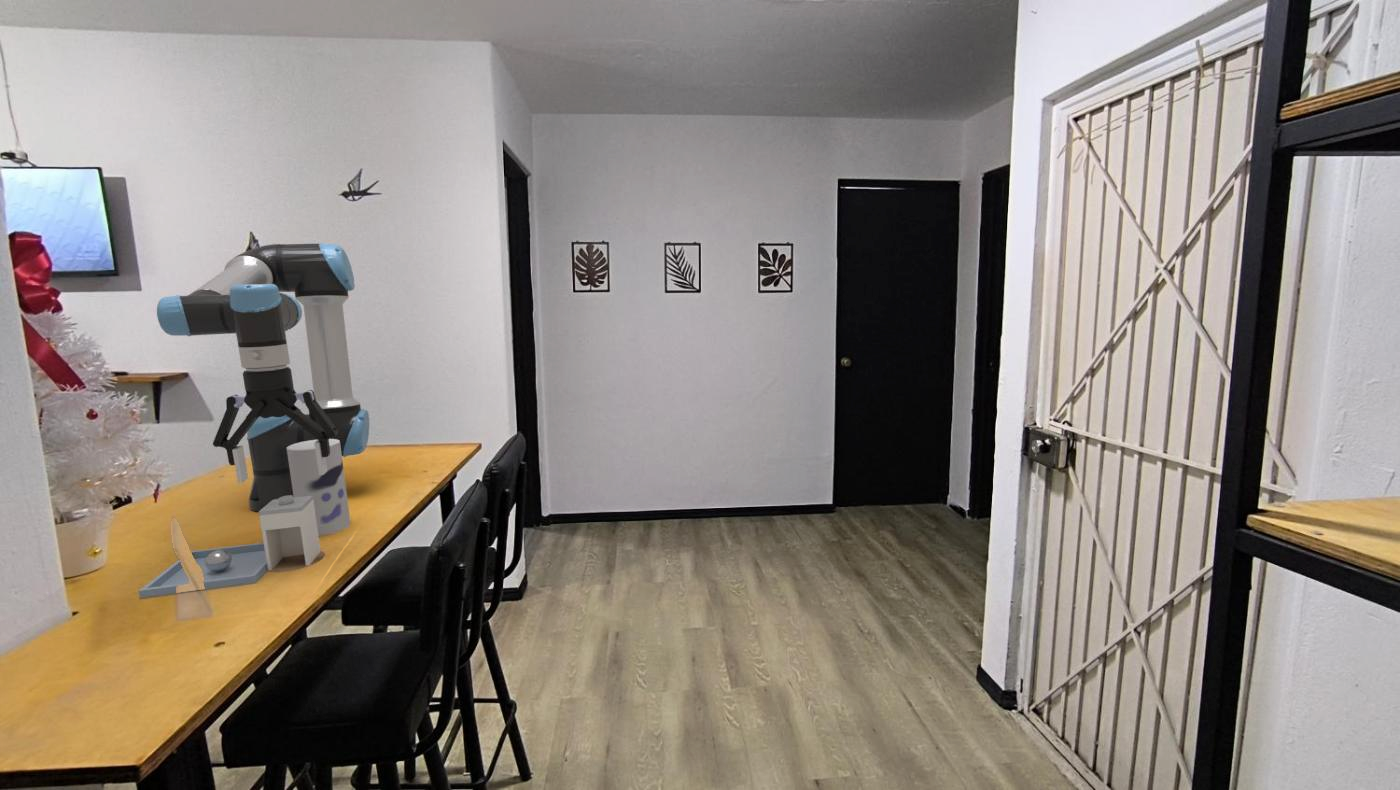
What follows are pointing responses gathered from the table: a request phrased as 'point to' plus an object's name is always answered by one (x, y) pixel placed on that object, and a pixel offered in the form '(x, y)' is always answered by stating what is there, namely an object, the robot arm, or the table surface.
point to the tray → (241, 571)
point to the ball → (218, 561)
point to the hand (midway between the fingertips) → (283, 477)
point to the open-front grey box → (289, 529)
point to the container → (321, 484)
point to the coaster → (294, 562)
